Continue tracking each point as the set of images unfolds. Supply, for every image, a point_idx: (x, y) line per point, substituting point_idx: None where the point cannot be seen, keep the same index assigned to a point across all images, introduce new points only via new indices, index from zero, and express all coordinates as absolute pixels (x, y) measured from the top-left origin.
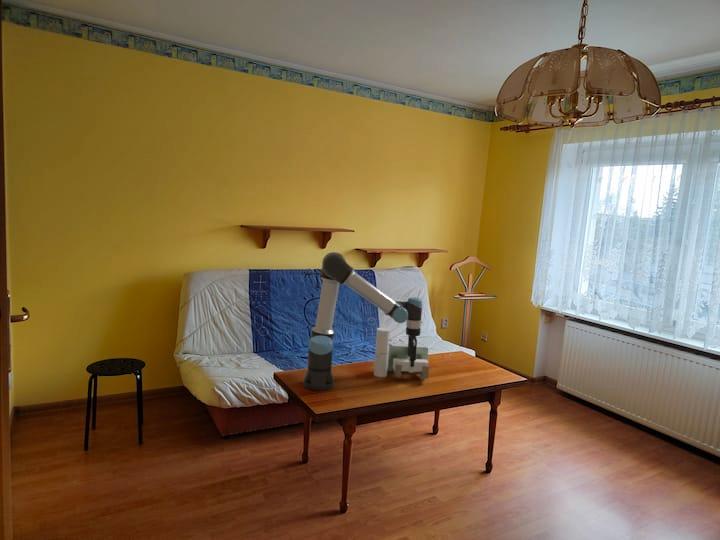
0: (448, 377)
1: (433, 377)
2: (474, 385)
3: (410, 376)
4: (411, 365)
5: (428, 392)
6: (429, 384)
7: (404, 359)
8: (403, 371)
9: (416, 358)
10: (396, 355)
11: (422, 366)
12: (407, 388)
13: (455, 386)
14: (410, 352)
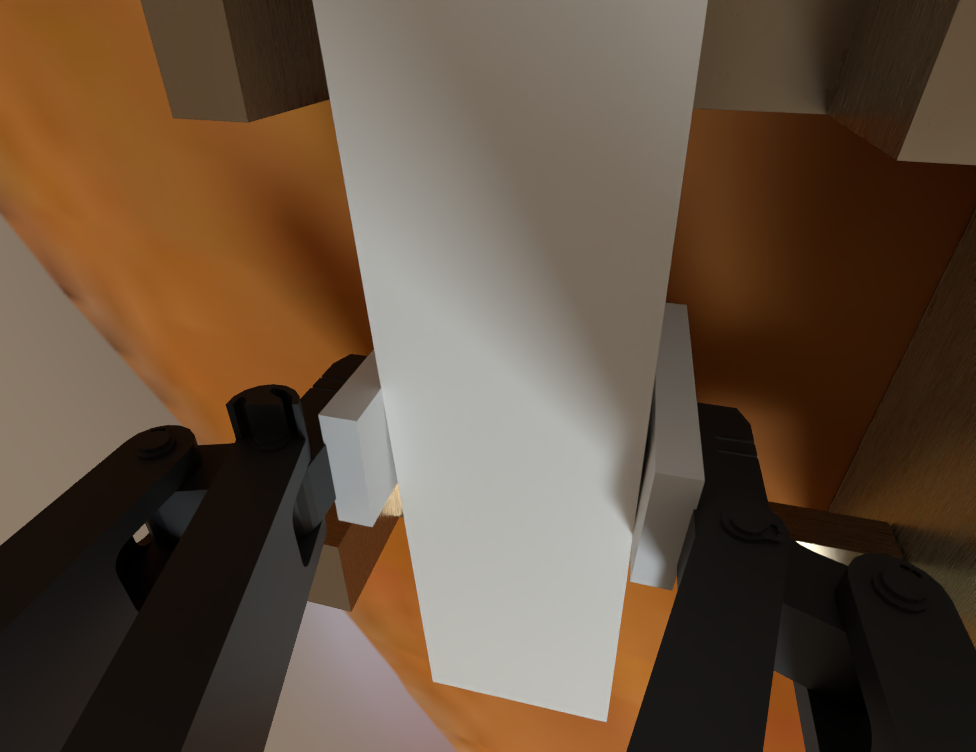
0: (630, 659)
1: None
2: (452, 714)
3: None
4: (330, 379)
5: (179, 362)
6: None
7: (588, 315)
8: (960, 244)
9: (971, 630)
10: None
11: (339, 539)
12: (194, 146)
13: (402, 611)
14: (156, 628)
